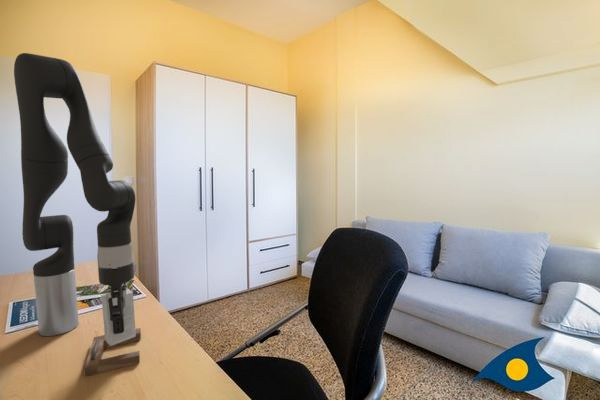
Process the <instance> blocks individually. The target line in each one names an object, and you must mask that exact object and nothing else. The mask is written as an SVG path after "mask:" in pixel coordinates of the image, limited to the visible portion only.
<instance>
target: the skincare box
mask: <svg viewBox="0 0 600 400" xmlns="http://www.w3.org/2000/svg"><path fill="white" fill-rule="evenodd" d="M125 297H126V307H125V308H124V318H123V319H124V332H123V333H119V334H114V333H113V321H111V320H110V310H109V302H108V300H109V298H108V292H107V293H103V294H101V304H102V305H101V306H102V307H101V308H102V316H103V317H102V318H103V331H104V335H105V340H106V342H107V343H108V344H109V345H110V347H113V346H112V345H115V344H118V343H120V342H123V341H125V340H128V339H131V338H133V337H135V336H136V330H135V329H136V320H135V319H136V318H135V303H134V292H133V291H132V290H131V289H129V288H128V287H127V294H126V296H125ZM122 304H123V301H122ZM114 314H120V312H119V311H118V312H114ZM115 346H116V345H115Z"/></svg>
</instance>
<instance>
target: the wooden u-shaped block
mask: <svg viewBox="0 0 600 400" xmlns="http://www.w3.org/2000/svg"><path fill="white" fill-rule="evenodd" d="M135 330H136V336H135V337H133V338H131V339H128V340H125V341H123V342H120V343H118V344H115V345H112V346H110V345H109V344H108V343H107V342H106V340H105V334H103V335H97V336H94V337H93V339H92V343H91V346H90V349H89V352H88V356H87V357H86V362H85V365H84V369H83V370H84V377H88V376H92V375H96V374H99V373H104V372H107V371H112V370H116V369H120V368H125V367H129V366H132V365H136V364H140V362H141V361H140V360H141V355H140V350H137V351H132V352H129V353H128V352H127V353H123V354H120V355H115V356H110V357H107V358H103V355H104V349H105V348H109V347H110V348H111V347H114V346H118V345H123V344H129V343H132V342H137V341H141V340H142V337H141V336H142V332H141V327H139V328H135Z"/></svg>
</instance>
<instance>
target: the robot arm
mask: <svg viewBox="0 0 600 400" xmlns="http://www.w3.org/2000/svg"><path fill="white" fill-rule="evenodd" d="M13 78H14V86H15V92H16V93H15V94H16V98H17V100H16V101H17V105H18V107H17V108H18V111H19V113H18V114H19V121H20V123H19V124H20V160H21V161H20V163H21V176H22V178H21V179H22V187H23V188H22V189H23V212H22V233H21V234H22V241H23V246H24V247H25V249H26V250H28V251H31V252H34V251H35V252H37V251H38V252H39V251H44V250H50V249H57V250H56V251H55V252H54V253H52V254H51V255H49V256H47V257H46V258H43V259H42V260H38V261H37V262H35V263H34V264H33V267H32V274H33V282H34V292H35V293H34V294H35V301H36V302H35V304H36V317H37V325H38V326H37V328H38V334H39V335H40V336H42V337H53V336H58V335H61V334H65V333H68V332H70V331H72V330H73V329H75V328H77V327H78V326H79V323H80V321H79V311H78V310H79V309H78V308H79V307H78V296H77V295H78V293H77V283H76V282H77V281H76V269H75V254H74V252H75V251H74V226H73V221H72V219H71V217H70V216H68V214H61V215H60V214H57V215H46V216H45V215H44V216H41V214H42V212H43V209H44V207H45V206H46V203H47V201H48V200H50V198H51V197H52V196H53V195H54V194H55V193H56V191H58V189H60V186H62V185H63V183H64V182H65V180H66V178H67V176H68V173H69V172H68V169H69V165H68V164H69V152H70V155H71V156H72V158H73V160H74V163H75V164H76V166H77V168H78V169H79V172H80V178H81V184H82V190H83V194H84V198H85V200H86V203H87V204H89V206H90V207H91V208H92V209H93V210H95V211H98V212H104V213H105V212H108V213H107V217H106V218H105V219H103V220H101V221H100V222H99V223H98V224H97V226H96V235H97V236H96V237H97V259H96V260H97V272H98V281H99V284H100V285H103V286H109V287H108V290H107V293H108V298H109V300H108V302H109V310H110V320H111V321H113V333H114V334H119V333H123V332H124V319H123V318H124V308H125V307H126V297H125V296H126V294H127V288H128V284H126V283H129V282H130V281H132V280H133V279H134V278H135V268H134V267H135V266H134V264H135V263H134V251H133V246H132V233H131V232H132V231H131V223H132V219H133V216H134V212H135V206H136V192H135V190H134V187H133V186H132V185H131V184H130V183H129V182H127V181H125V180H109V179H108V175H107V174H108V173H109V172H111V171H112V170H113V168H114V164H113V163H114V162H113V160H112V158H111V157H110V154H109V152H108V150H107V149H106V146H105V145H104V143H103V141H102V139H101V136H100V135H99V132H98V130H97V127H96V125H95V122H94V119H93V116H92V113H91V109H90V106H89V102H88V99H87V97H86V94H85V90H84V88H83V85H82V82H81V79H80V76H79V74H78V72H77V70H76V69H75V68H74V65H72V63H70V62H68V61H67V60H65V59H61V58H56V57H51V56H46V55H41V54H35V53H28V52H23V53H20V54H18V55H17V56H16V58H15V61H14V65H13ZM44 98H49V99H50V98H51V99H62V100H63V102H64V103H65V105H66V106H67V108H68V111H69V123H68V128H67V133H66V144H67V147H66V145H65V143H64V142H63V140H62V139H61V138H60V136H59V135H58V133H57V132H56V131H55V129H53V127H52V126H51V124H50V122H49V120H48V119H47V116H46V113H45V112H46V111H45V103H44ZM67 148H68V150H69V152H68V150H67ZM122 301H123V304H122ZM118 311H119V312H120V314H114V312H118Z"/></svg>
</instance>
